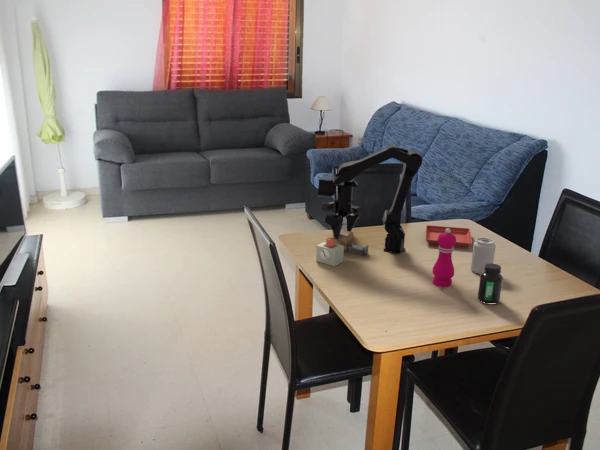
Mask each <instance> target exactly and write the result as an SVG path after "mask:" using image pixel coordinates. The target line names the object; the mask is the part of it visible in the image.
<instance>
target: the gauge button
mask: <svg viewBox="0 0 600 450" xmlns="http://www.w3.org/2000/svg"><path fill="white" fill-rule="evenodd" d="M325 241H326V247H328V248H334V247H335V239H334V238H333V237H327V238H325Z"/></svg>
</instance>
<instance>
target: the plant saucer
mask: <svg viewBox="0 0 600 450" xmlns="http://www.w3.org/2000/svg"><path fill="white" fill-rule="evenodd" d="M447 228H449V229H450V230H451V232H450V233H452V234H454V235H455V237H456V244H455V245H454V246H453V247H454V248H460V249H466V248H468V247H470V245H472V244H473V240H472V234H471V229H470V228H469V227H466V228H465V227H455V226H443V225H425V236H424V239H425V241H426V243H427V244H428V245H430V246H439V243H438V236H439V235H440V234H441V233H443V232H445V230H446V229H447Z"/></svg>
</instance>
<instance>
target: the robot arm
mask: <svg viewBox="0 0 600 450" xmlns="http://www.w3.org/2000/svg"><path fill="white" fill-rule="evenodd" d="M390 159H394V160H397V161H399V162H401V163H403V167H402V173H401V174H402V175H401V177H400V181H399V184H398V187H397V189H396V193H395V194H394V195H395V196H394V197H393V198H394V199H393V202H392V205H391V207H390V208H389V210H388V209H384V213H383V217H382V218H381V220H382V224H383V227H384V230H385V232H386V233H387V234H386V237H385V238H384V248H383V251H385V252H388V253H393V254H395V255H396V254H397V255H399V254H401V253H402V252H404V251H406V248H405V238H406V236H405V235H406V233H405V231H404V228H403V226H402V225H401V224H402V212H403V208H404V206H405V202H406V200H407V196H408V194H409V191H410V188H411V185H412V182H413V179H414V177H415V176H416V174H417V173H418V171H419V170H420V168H421V166H422V165H423V157H422V156H421V154H420V153H419V151H417V150H415V149H412V150H408V149H405V148H400V147H398V146H396V145H393V144H391V145H388V146H387V147H385V148H382V149H381V150H379V151H376V152H374V153H372V154H370V155H367V156H365V157H363V158H361V159H359V160H358V159H357V160H353V161H351V160H350V161H348V162H343V163H341V164H340V165H339V166H338V169H337V172H336V173H335V175H334V176H333V177H332V178H321V177H320V178H318V185H317V197H321V198H322V197H324V198H325V197H326V198H333V196H335V195H336V199H334V200H333V201H331V202H328V201H326V202H322V204H321V210H322V212H324V213H325V214H327V213H329V214H327V215H325V216H324V221H323V222H324V223H325V224H327V225H329V226H330V228H331V231H332V235H333V234H334V237H335V239H338V237H339V235H340V232H341V229H342V226H343V224H342V222H343V218H344V217H346V219H347V231H350V232H352V230H353V229H354V226H355V225H356V223H357V221H358V220H359V218H360V217H361V215H362V214H363V209H362V207H361V206H357V205H353V203H355V199H353V190H354V188H357V187H359V185H358V182H357V181H355V178H356V177H358V176H359V175H360V174H361V173H362V172H364V171H366V170H368V169H370V168H372V167H375V166H377V165H379V164H381V163H384V162H386V161H388V160H390ZM336 189H337V190H336ZM336 192H337V193H336ZM330 212H332V213H330ZM337 214H338V215H337Z"/></svg>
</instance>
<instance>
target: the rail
mask: <svg viewBox="0 0 600 450" xmlns="http://www.w3.org/2000/svg"><path fill="white" fill-rule="evenodd" d="M346 252H350V253H352V254H356V255H360V256H364V257H365V256H366V255H367V254H369V245H367V244H366V245H364V246H360V245H357V244H356V245H355V244H350V245H349V246H347V251H346Z"/></svg>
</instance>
